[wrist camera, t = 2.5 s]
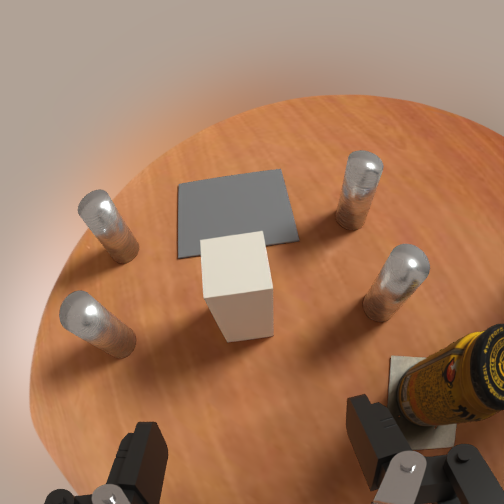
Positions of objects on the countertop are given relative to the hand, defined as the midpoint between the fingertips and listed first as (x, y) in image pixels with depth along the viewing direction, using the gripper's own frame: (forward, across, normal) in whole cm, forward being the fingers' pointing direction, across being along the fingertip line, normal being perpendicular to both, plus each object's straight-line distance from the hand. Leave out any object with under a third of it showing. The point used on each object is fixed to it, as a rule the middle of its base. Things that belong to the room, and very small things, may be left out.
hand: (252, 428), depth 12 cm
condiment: (+8, -14, +10) cm, 19 cm away
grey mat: (+24, 0, -6) cm, 25 cm away
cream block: (+16, 0, +2) cm, 16 cm away
